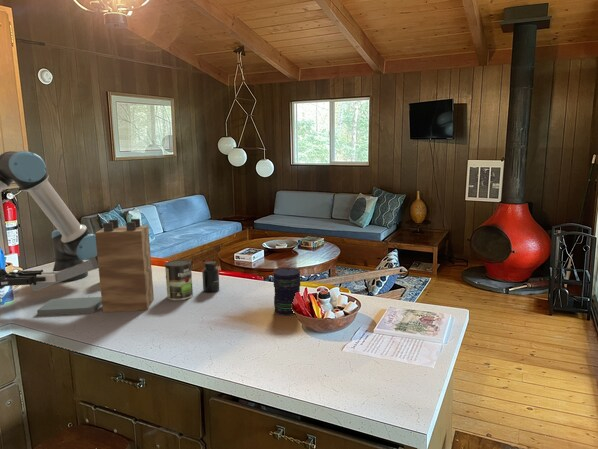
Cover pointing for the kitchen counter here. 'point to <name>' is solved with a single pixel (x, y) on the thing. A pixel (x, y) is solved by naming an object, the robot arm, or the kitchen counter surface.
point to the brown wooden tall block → (124, 266)
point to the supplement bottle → (210, 277)
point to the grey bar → (70, 272)
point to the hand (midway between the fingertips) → (57, 276)
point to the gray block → (70, 306)
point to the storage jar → (285, 289)
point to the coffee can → (179, 279)
